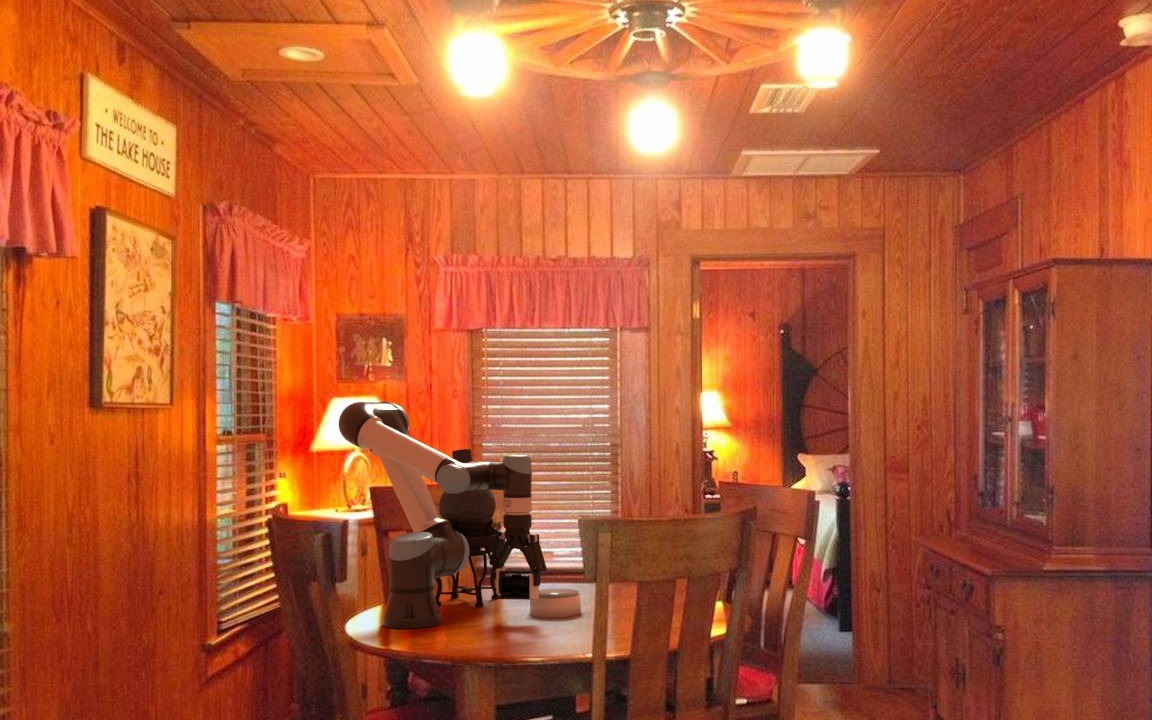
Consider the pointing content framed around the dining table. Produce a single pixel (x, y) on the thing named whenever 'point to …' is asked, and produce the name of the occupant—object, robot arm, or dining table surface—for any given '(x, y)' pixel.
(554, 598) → the stand
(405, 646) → the dining table surface
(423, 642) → the dining table surface
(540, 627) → the dining table surface
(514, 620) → the dining table surface
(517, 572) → the end cap
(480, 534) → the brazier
